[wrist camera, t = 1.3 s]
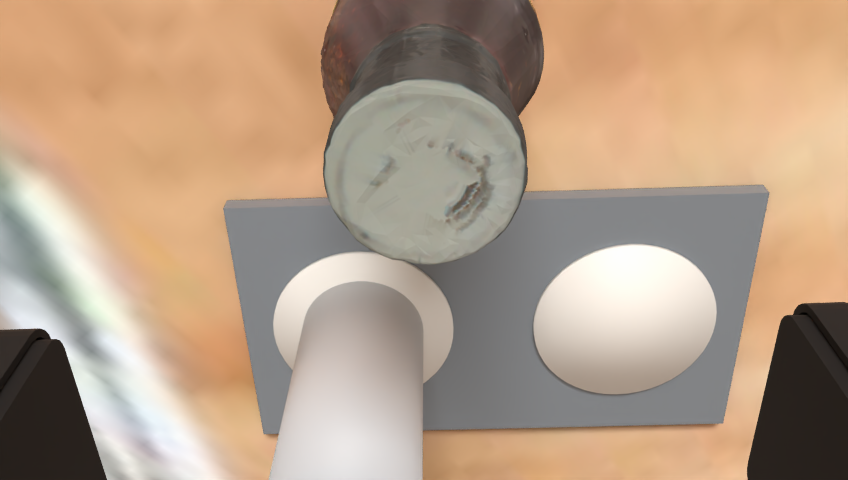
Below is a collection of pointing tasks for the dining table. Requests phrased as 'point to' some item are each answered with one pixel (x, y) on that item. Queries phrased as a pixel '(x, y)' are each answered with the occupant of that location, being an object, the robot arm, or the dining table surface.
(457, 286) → the board
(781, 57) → the dining table surface
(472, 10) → the sauce bottle
